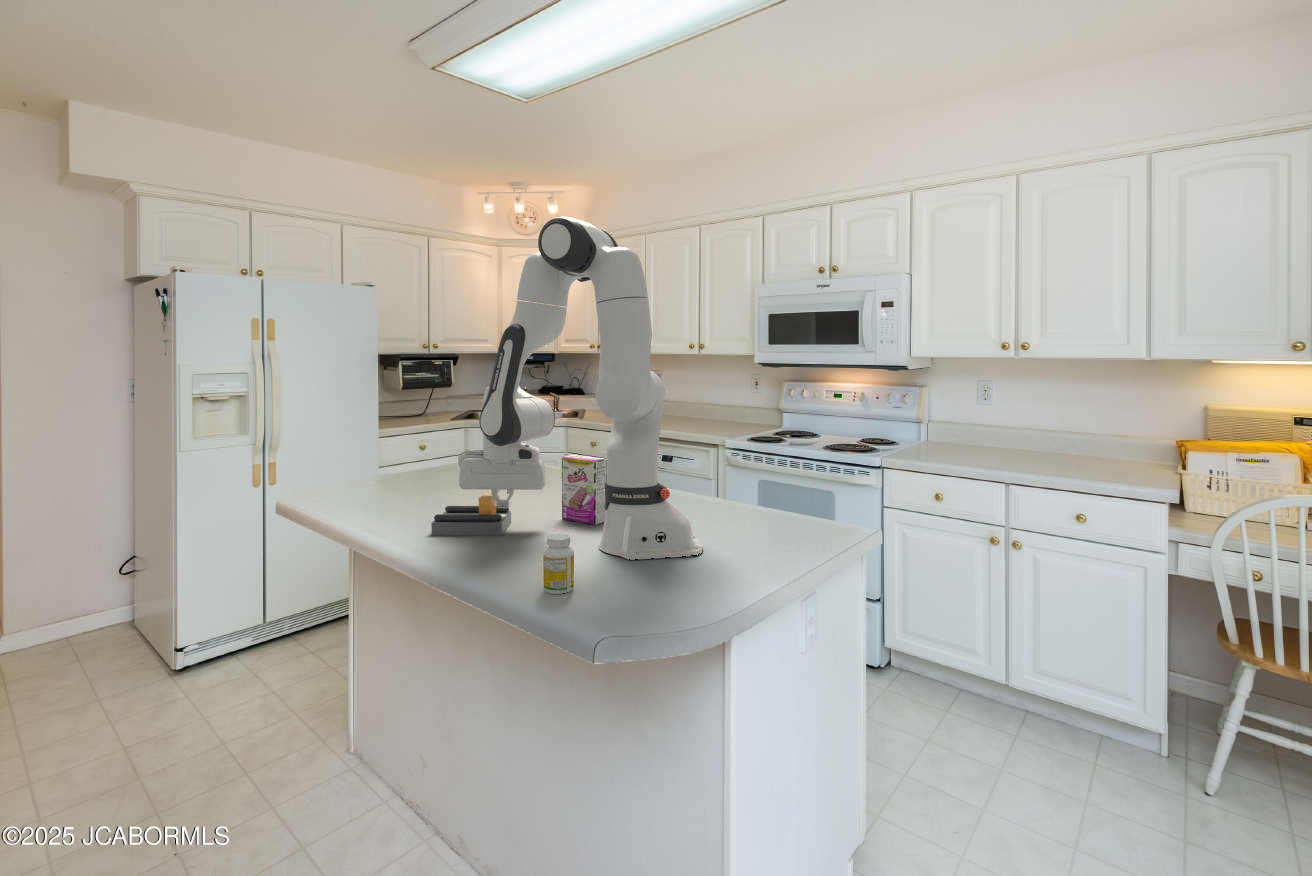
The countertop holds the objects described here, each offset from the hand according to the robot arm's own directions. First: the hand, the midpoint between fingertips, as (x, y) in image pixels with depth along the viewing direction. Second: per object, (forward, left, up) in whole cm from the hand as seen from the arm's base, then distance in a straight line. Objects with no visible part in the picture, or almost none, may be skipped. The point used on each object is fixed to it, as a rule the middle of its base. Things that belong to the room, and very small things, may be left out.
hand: (503, 507), depth 154 cm
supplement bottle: (-18, +42, -5) cm, 46 cm away
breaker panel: (+7, 0, -5) cm, 9 cm away
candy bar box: (-19, -8, -5) cm, 21 cm away
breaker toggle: (+4, 0, -2) cm, 4 cm away
